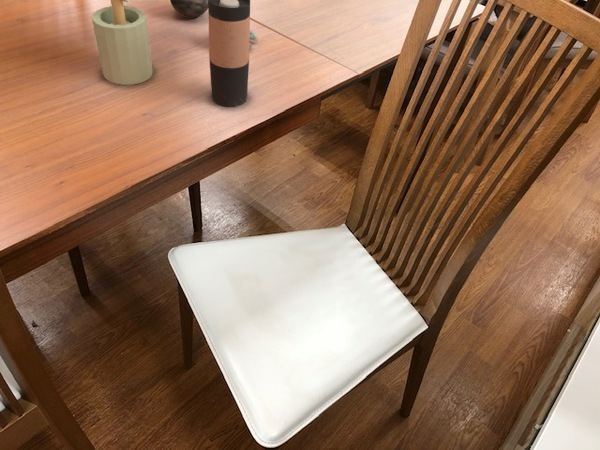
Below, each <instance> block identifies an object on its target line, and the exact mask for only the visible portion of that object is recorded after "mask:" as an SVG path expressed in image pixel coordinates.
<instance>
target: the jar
mask: <svg viewBox="0 0 600 450" xmlns="http://www.w3.org/2000/svg"><path fill="white" fill-rule="evenodd" d="M124 11H125V18H126V21H129V22H131V24H126V25H113V24H110V23H111V22H113V21H114V17H113V11H112V5H110V6H105V7H101V8H99V9H97V10H96V11H94V12H93V13H92V14H91V22H92V27H93V31H94V37H95V42H96V47H97V51H98V52H97V53H98V56H99V61H100V66H101V72H102V75H103V77H104V79H105V80H107V81H108V82H110V83H113V84H116V85H123V86H130V85H131V86H132V85H137V84H141V83H144V82H147V81H148V80H149V79H150V78H151V77H152V75H153V73H154V71H153V62H152V54H151V46H150V38H149V37H150V36H149V29H148V20H147V14H146V13H145V12H144V11H143V10H142V9H139V8H137V7H134V6H128V5H124Z"/></svg>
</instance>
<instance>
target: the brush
mask: <svg viewBox="0 0 600 450" xmlns="http://www.w3.org/2000/svg"><path fill="white" fill-rule="evenodd" d="M110 6H112V11H113V17H114V21H113V22H111V23H110V24H113V25H126V24H131V22H129V21H126V18H125V11H124V6H125V5H124V1H121V0H110Z"/></svg>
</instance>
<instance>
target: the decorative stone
mask: <svg viewBox="0 0 600 450" xmlns="http://www.w3.org/2000/svg"><path fill="white" fill-rule="evenodd" d="M169 2H170V5H171V6H172V7H173V9H174V10H175V12H176V13H177V14H178V15H180V16H182V17H185V18H187V19H196V18H199V17H202V16H203V15H204V14H205V13H206V12H208V0H169Z"/></svg>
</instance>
